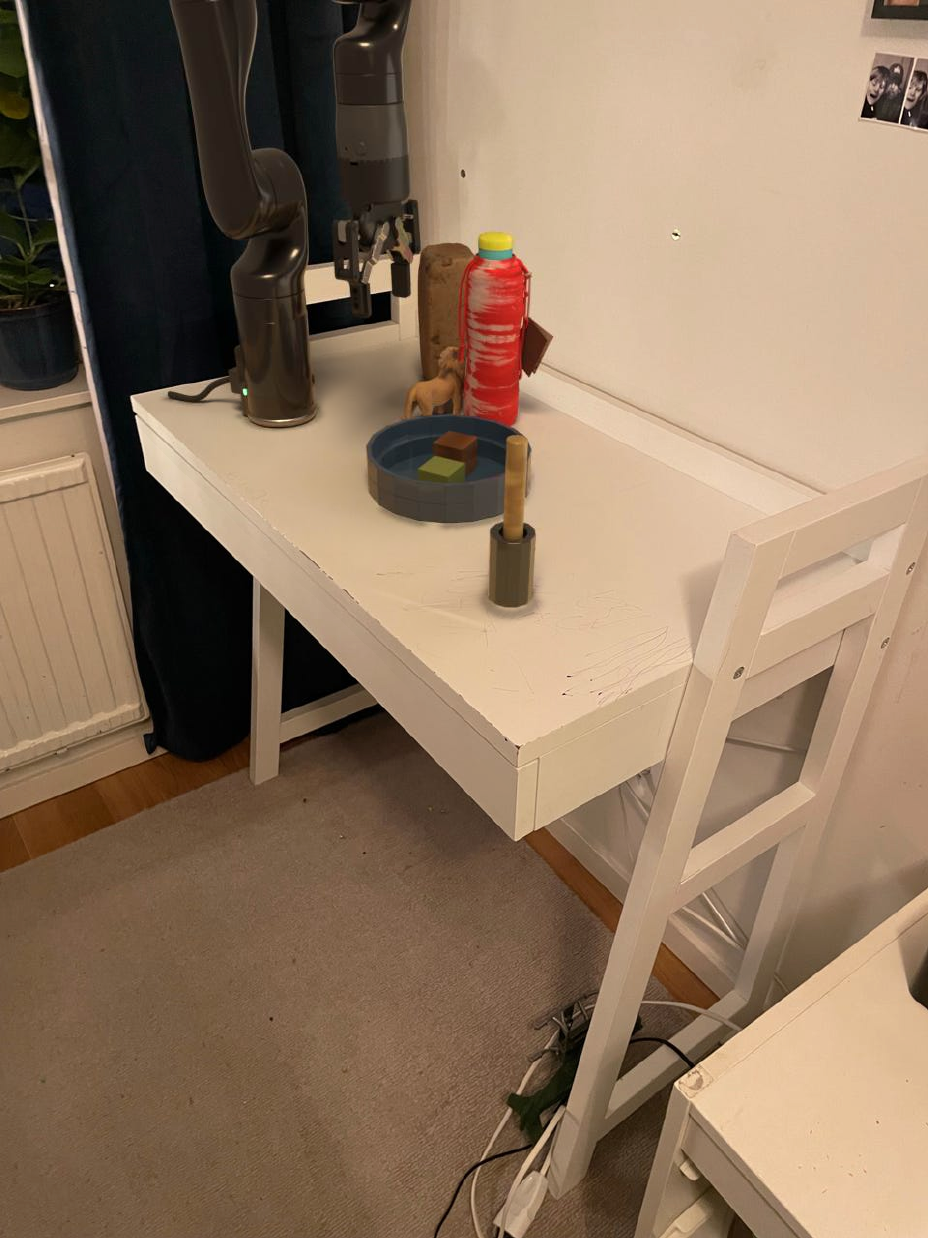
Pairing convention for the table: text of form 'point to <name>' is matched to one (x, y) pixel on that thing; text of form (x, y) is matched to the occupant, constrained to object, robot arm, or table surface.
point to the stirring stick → (514, 486)
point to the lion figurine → (439, 386)
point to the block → (440, 302)
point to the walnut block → (458, 449)
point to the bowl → (402, 493)
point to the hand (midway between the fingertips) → (382, 306)
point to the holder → (511, 567)
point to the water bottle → (497, 330)
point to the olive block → (442, 471)
